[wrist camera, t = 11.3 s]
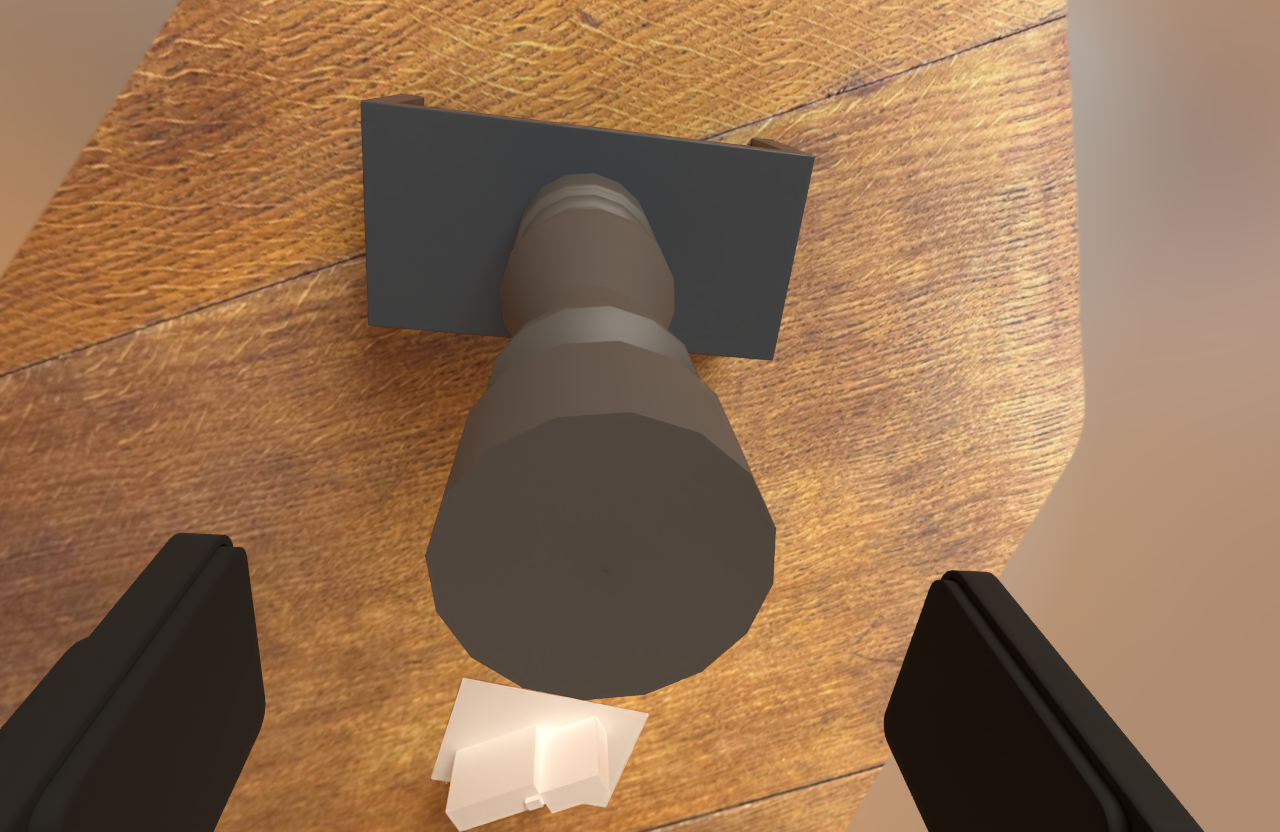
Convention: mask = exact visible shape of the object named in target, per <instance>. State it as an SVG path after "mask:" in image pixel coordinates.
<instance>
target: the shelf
mask: <svg viewBox="0 0 1280 832" xmlns="http://www.w3.org/2000/svg"><path fill="white" fill-rule="evenodd" d="M361 127H362V156H363V185H364V214H365V243H366V272H367V301H368V325H369V326H379V327H391V328H402V329H414V330H425V331H437V332H449V333H460V334H472V335H483V336H495V337H506V338H512V337H511V335H510V333H509V331H508V330H507V328H506V326H505V324H504V321H503V313H502V304H501V296H500V286H501V283H502V280H503V276H504V273H505V270H506V266H507V263H508V260H509V256H510V253H511V252H512V250H513V245H514V242H515V238H516V235H517V232H518V228H519V225H520V222H521V218H522V216H523V213H524V210H525V207H526V206H527V205H528V203H529V202H530V201H531V200H532V199H533V197H534V196H535V195H536V194H537V193H538V191H539V190H540V189H541V188H542V187H543V186H545V185H547V184H549V183H551V182H553V181H555V180H557V179H559V178H561V177H563V176H565V175H567V174H586V173H595V174H597V175H600V176H603V177H605V178H608V179H611V180H613V181H616V182H619V183H620V184H621V185H622V186H623V187H624V188H625V189H626V190H627V191H629V192H630V193H631V194H632V195H633V196H634V197H635V198H636V199H637V200H638V201H639V203H640V205H641V207H642V209H643V211H644V213H645V216H646V218H647V220H648V222H649V224H650V227H651V229H652V231H653V233H654V236H655V238H656V243H657V244H658V245H659V247H660V249H661V251H662V254H663V256H664V258H665V260H666V263H667V265H668V267H669V269H670V271H671V274H672V276H673V278H674V310H675V312H674V315H673V318H672V320H671V323H670V325H669V328H668V331H669V332H671V333H672V334H673V335H674V336H675V337H676V338H677V339H679V340H680V341H681V342H682V343H683V344H684V345H685V348H686V350H687V352H688V353H691V354H703V355H714V356H726V357H737V358H749V359H761V360H773V357H774V352H775V347H776V343H777V338H778V333H779V328H780V323H781V318H782V314H783V309H784V304H785V299H786V294H787V289H788V285H789V280H790V275H791V270H792V265H793V260H794V256H795V251H796V246H797V241H798V236H799V231H800V227H801V222H802V217H803V212H804V207H805V202H806V198H807V193H808V188H809V183H810V178H811V174H812V169H813V164H814V159H815V156H814V155H811V154H808V153H806V152H803V151H800V150H798V149H795V148H792V147H790V146H787V145H784V144H782V143H779V142H776V141H774V140H768V139H760V138H753V139H752V143H751V146H745V145H737V144H729V143H721V142H712V141H704V140H696V139H688V138H680V137H671V136H663V135H655V134H647V133H639V132H631V131H622V130H614V129H606V128H598V127H590V126H581V125H573V124H565V123H557V122H549V121H541V120H532V119H524V118H516V117H508V116H500V115H492V114H483V113H475V112H467V111H459V110H451V109H442V108H434V107H426V106H424V97H421V96H413V95H405V94H399V95H393V96H386V97H380V98H374V99H368V100H362V101H361Z"/></svg>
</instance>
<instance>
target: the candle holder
mask: <svg viewBox="0 0 1280 832" xmlns="http://www.w3.org/2000/svg"><path fill="white" fill-rule="evenodd" d="M500 296H501V304H502V313H503V321H504V324H505V326H506V328H507V330H508V331H509V333H510V335H511V337H512V339H511V341H510V342H509V343H508V344H507V345H506V346H505V347H504V349H503V350H502V351H501V352H500V353H499V354H498V355H497V357H496V360H495V363H494V366H493V370H492V373H491V376H490V379H489V383H488V386H487V389H486V392H485V394H484V395H483V396H482V397H481V398H480V399H479V400H478V402H477V403H476V404H475V405H474V406H473V407H472V408H471V409H470V411H469V413H468V416H467V420H466V423H465V426H464V430H463V433H462V436H461V439H460V443H459V446H458V449H457V452H456V456H455V459H454V462H453V466H452V469H451V472H450V475H449V479H448V482H447V485H446V488H445V492H444V495H443V498H442V502H441V505H440V508H439V512H438V515H437V518H436V522H435V525H434V528H433V532H432V535H431V538H430V542H429V545H428V548H427V552H426V555H425V557H426V562H427V567H428V572H429V577H430V582H431V587H432V592H433V597H434V602H435V607H436V612H437V613H438V614H439V616H440V617H441V618H442V620H443V621H444V622H445V624H446V625H447V626H448V627H449V629H450V630H451V631H452V633H453V634H454V635H455V637H456V638H457V639H458V641H459V642H460V643H461V645H462V646H463V647H464V649H465V650H466V651H467V652H468V654H469V655H470V656H471V657H472V658H473V659H475V660H477V661H478V662H480V663H482V664H483V665H485V666H487V667H489V668H490V669H492V670H494V671H495V672H497V673H499V674H500V675H502V676H504V677H505V678H507V679H509V680H511V681H512V682H514V683H516V684H517V685H519V686H521V687H522V688H527V689H532V690H536V691H541V692H546V693H551V694H556V695H560V696H565V697H570V698H575V699H579V700H591V699H602V698H613V697H624V696H636V695H645V694H648V693H650V692H653V691H655V690H658V689H660V688H663V687H665V686H668V685H670V684H673V683H675V682H678V681H680V680H682V679H685V678H687V677H690V676H692V675H695V674H697V673H700V672H702V671H703V670H704V669H706V668H707V667H708V666H709V665H710V664H711V663H713V662H714V661H715V660H716V659H717V658H718V657H720V656H721V655H722V654H723V653H724V652H725V651H727V650H728V649H729V648H730V647H731V646H733V645H734V644H735V643H736V642H737V641H738V640H740V639H741V638H742V637H743V636H744V635H745V634H747V632H748V630H749V628H750V626H751V624H752V623H753V621H754V619H755V617H756V615H757V613H758V611H759V609H760V607H761V606H762V604H763V602H764V600H765V598H766V596H767V594H768V592H769V591H770V589H771V587H772V585H773V577H774V556H775V535H776V527H775V525H774V523H773V520H772V518H771V516H770V514H769V511H768V509H767V507H766V504H765V502H764V500H763V498H762V495H761V493H760V491H759V488H758V486H757V484H756V482H755V479H754V477H753V475H752V472H751V470H750V468H749V466H748V463H747V461H746V459H745V456H744V454H743V452H742V450H741V447H740V445H739V443H738V440H737V438H736V436H735V434H734V432H733V429H732V427H731V425H730V423H729V421H728V418H727V416H726V414H725V412H724V410H723V407H722V405H721V403H720V401H719V399H718V396H717V394H716V393H715V392H713V391H712V390H711V389H710V388H709V387H708V386H706V385H705V384H704V383H703V382H702V381H701V380H700V378H699V376H698V374H697V371H696V369H695V367H694V365H693V363H692V361H691V358H690V356H689V354H688V352H687V350H686V348H685V345H684V344H683V343H682V342H681V341H680V340H679V339H677V338H676V337H675V336H674V335H673V334H672V333H671V332H669V331H668V328H669V325H670V323H671V320H672V318H673V315H674V312H675V310H674V278H673V276H672V274H671V271H670V269H669V267H668V265H667V263H666V260H665V258H664V256H663V254H662V251H661V249H660V247H659V245H658V244H657V243H656V238H655V236H654V233H653V231H652V229H651V227H650V224H649V222H648V220H647V218H646V216H645V213H644V211H643V209H642V207H641V205H640V203H639V201H638V200H637V199H636V198H635V197H634V196H633V195H632V194H631V193H630V192H629V191H627V190H626V189H625V188H624V187H623V186H622V185H621V184H620V183H619V182H616V181H613V180H611V179H608V178H605V177H603V176H600V175H597V174H595V173H586V174H567V175H565V176H563V177H561V178H559V179H557V180H555V181H553V182H551V183H549V184H547V185H545V186H543V187H542V188H541V189H540V190H539V191H538V193H537V194H536V195H535V196H534V197H533V199H532V200H531V201H530V202H529V203H528V205H527V206H526V207H525V210H524V213H523V216H522V218H521V222H520V225H519V228H518V232H517V235H516V238H515V242H514V245H513V250H512V252H511V253H510V256H509V260H508V263H507V266H506V270H505V273H504V276H503V280H502V283H501V286H500Z"/></svg>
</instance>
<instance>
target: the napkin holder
mask: <svg viewBox="0 0 1280 832" xmlns="http://www.w3.org/2000/svg"><path fill="white" fill-rule="evenodd" d="M648 716H649V713H644V712H639V711H634V710H628V709H623V708H618V707H613V706H608V705H602V704H597V703H592V702H587V701H582V700H576V699H571V698H566V697H561V696H556V695H550V694H545V693H540V692H535V691H530V690H525V689H519V688H514V687H509V686H504V685H499V684H493V683H488V682H483V681H478V680H473V679H467V678H463V680H462V683H461V686H460V689H459V692H458V695H457V698H456V701H455V704H454V708H453V711H452V714H451V717H450V720H449V723H448V726H447V729H446V732H445V735H444V739H443V742H442V745H441V748H440V751H439V754H438V757H437V760H436V763H435V766H434V770H433V773H432V776H431V779H434V780H440V781H446V784H447V782H451V784H450V789H449V795H448V801H447V807H446V814H447V815H448V817H449V818H450V819H451V821H452V822H453V823H454V825H455V826H456V828H457V829H458V830H459V832H462V831H465V830H468V829H471V828H474V827H477V826H480V825H483V824H486V823H489V822H492V821H495V820H498V819H502V818H505V817H508V816H511V815H514V814H517V813H520V812H523V811H526V810H529V811H531V810H534V809H537V808H540V807H543V805H545V804H546V805H547V807H548V808H549V810H550V811H551V813H556V812H559V811H562V810H565V809H568V808H571V807H574V806H577V805H580V804H588V805H594V806H600V807H606V806H607V804H608V802H609V800H610V797H611V795H612V793H613V791H614V789H615V787H616V784H617V782H618V780H619V778H620V776H621V774H622V772H623V769H624V767H625V765H626V763H627V761H628V759H629V756H630V754H631V752H632V750H633V748H634V746H635V744H636V741H637V739H638V737H639V735H640V733H641V731H642V728H643V726H644V724H645V722H646V720H647V718H648Z"/></svg>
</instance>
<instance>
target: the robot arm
mask: <svg viewBox="0 0 1280 832" xmlns="http://www.w3.org/2000/svg"><path fill="white" fill-rule="evenodd" d="M264 714H265V694H264V686H263V678H262V670H261V662H260V655H259V647H258V639H257V631H256V623H255V616H254V608H253V600H252V592H251V584H250V577H249V569H248V561H247V555H246V552H245V550H244V548H242V547H233V544H232V541H231V539H230V538H229V537H228V536H226V535H216V534H195V533H178V534H175V535H174V536H173V537H172V538H170V539H169V541H168V542H167V543H166V544H165V545H164V547H163V548H162V549H161V550H160V551H159V553H158V554H157V555H156V556H155V558H154V559H153V560H152V561H151V562H150V564H149V565H148V566H147V567H146V568H145V570H144V571H143V572H142V573H141V574H140V576H139V577H138V578H137V579H136V580H135V582H134V583H133V584H132V585H131V586H130V588H129V589H128V590H127V591H126V592H125V594H124V595H123V596H122V597H121V598H120V600H119V601H118V602H117V603H116V605H115V606H114V607H113V608H112V609H111V611H110V612H109V613H108V614H107V615H106V617H105V618H104V619H103V620H102V621H101V623H100V624H99V625H98V626H97V627H96V629H95V630H94V631H93V632H92V633H91V635H90V636H89V637H87V638H84V639H82V640H80V641H78V642H76V643H75V644H74V645H73V646H72V647H71V648H70V649H69V650H67V651H66V652H65V654H64V655H63V656H62V657H61V658H60V659H59V661H58V662H57V663H56V664H55V665H54V666H53V668H52V669H51V670H50V671H49V672H48V674H47V675H46V676H45V677H44V678H43V679H42V681H41V682H40V683H39V684H38V685H37V687H36V688H35V689H34V690H33V691H32V692H31V694H30V695H29V696H28V697H27V698H26V700H25V701H24V702H23V703H22V704H21V705H20V707H19V708H18V709H17V710H16V711H15V713H14V714H13V715H12V716H11V717H10V718H9V720H8V721H7V722H6V723H5V724H4V726H3V727H2V728H1V729H0V832H214V829H215V827H216V825H217V823H218V821H219V819H220V816H221V814H222V812H223V810H224V808H225V806H226V803H227V801H228V799H229V797H230V795H231V793H232V790H233V788H234V786H235V784H236V782H237V779H238V777H239V775H240V773H241V771H242V769H243V766H244V764H245V762H246V760H247V758H248V756H249V753H250V751H251V749H252V747H253V745H254V743H255V740H256V738H257V736H258V734H259V732H260V729H261V726H262V723H263V719H264ZM884 732H885V737H886V740H887V743H888V745H889V747H890V749H891V751H892V754H893V756H894V758H895V760H896V762H897V764H898V766H899V769H900V771H901V773H902V775H903V777H904V780H905V782H906V784H907V786H908V788H909V790H910V793H911V795H912V796H913V799H914V801H915V803H916V806H917V808H918V810H919V812H920V814H921V816H922V819H923V820H924V823H925V825H926V827H927V829H928V831H929V832H1204V831H1203V830H1202V829H1201V827H1200V826H1199V825H1198V824H1197V822H1196V821H1195V820H1194V819H1193V817H1192V816H1191V815H1190V814H1189V813H1188V811H1187V810H1186V809H1185V808H1184V806H1183V805H1182V804H1181V803H1180V802H1179V800H1178V799H1177V798H1176V797H1175V795H1174V794H1173V793H1172V792H1171V791H1170V789H1169V788H1168V787H1167V786H1166V784H1165V783H1164V782H1163V781H1162V779H1161V778H1160V777H1159V776H1158V775H1157V773H1156V772H1155V771H1154V770H1153V768H1152V767H1151V766H1150V765H1149V764H1148V762H1147V761H1146V760H1145V759H1144V758H1143V756H1142V755H1141V754H1140V753H1139V751H1138V750H1137V749H1136V748H1135V746H1134V745H1133V744H1132V743H1131V742H1130V741H1129V739H1128V738H1127V737H1126V735H1125V734H1124V733H1123V732H1122V731H1121V729H1120V728H1119V727H1118V726H1117V724H1116V723H1115V722H1114V721H1113V719H1112V718H1111V717H1110V716H1109V715H1108V713H1107V712H1106V711H1105V710H1104V709H1103V707H1102V706H1101V705H1100V704H1099V702H1098V701H1097V700H1096V699H1095V697H1094V696H1093V695H1092V694H1091V693H1090V691H1089V690H1088V689H1087V688H1086V687H1085V685H1084V684H1083V683H1082V682H1081V680H1080V679H1079V678H1078V677H1077V675H1075V673H1074V672H1073V671H1072V669H1071V668H1070V667H1069V666H1068V664H1067V663H1066V662H1065V661H1064V660H1063V658H1062V657H1061V656H1060V655H1059V653H1058V652H1057V651H1056V650H1055V648H1054V647H1053V646H1052V645H1051V644H1050V642H1049V641H1048V640H1047V639H1046V638H1045V636H1044V635H1043V634H1042V633H1041V631H1040V630H1039V629H1038V628H1037V626H1036V625H1035V624H1034V623H1033V622H1032V621H1031V619H1030V618H1029V617H1028V615H1027V614H1026V613H1025V612H1024V611H1023V609H1022V608H1021V607H1020V606H1019V604H1018V603H1017V602H1016V601H1015V600H1014V598H1013V597H1012V596H1011V595H1010V593H1009V592H1008V591H1007V590H1006V588H1005V587H1004V586H1003V585H1002V584H1001V582H1000V581H999V580H998V579H997V578H996V577H995V576H994V575H993V574H992V573H988V572H978V571H958V570H951V571H947V572H946V573H945V574H944V575H943V576H942V578H941V580H936V581H934V582H933V583H932V585H931V587H930V589H929V592H928V594H927V597H926V600H925V603H924V606H923V608H922V611H921V614H920V617H919V620H918V622H917V625H916V628H915V631H914V634H913V636H912V639H911V642H910V645H909V648H908V650H907V653H906V656H905V659H904V662H903V664H902V667H901V670H900V673H899V676H898V678H897V681H896V684H895V687H894V690H893V692H892V695H891V698H890V701H889V704H888V706H887V709H886V712H885V716H884Z"/></svg>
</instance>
